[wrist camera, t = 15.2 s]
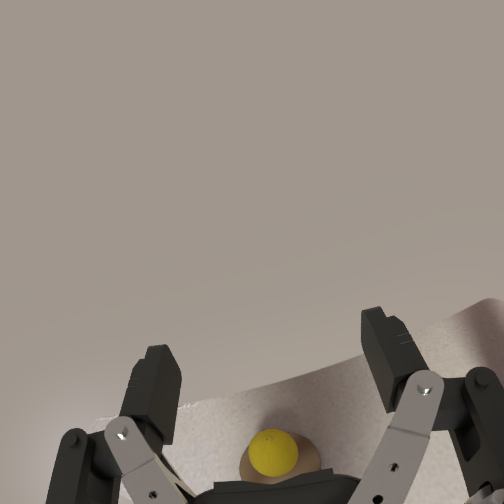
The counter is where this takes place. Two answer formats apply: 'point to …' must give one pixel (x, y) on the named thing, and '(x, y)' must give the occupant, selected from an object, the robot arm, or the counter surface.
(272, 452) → the lemon
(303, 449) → the walnut board
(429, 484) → the counter surface
